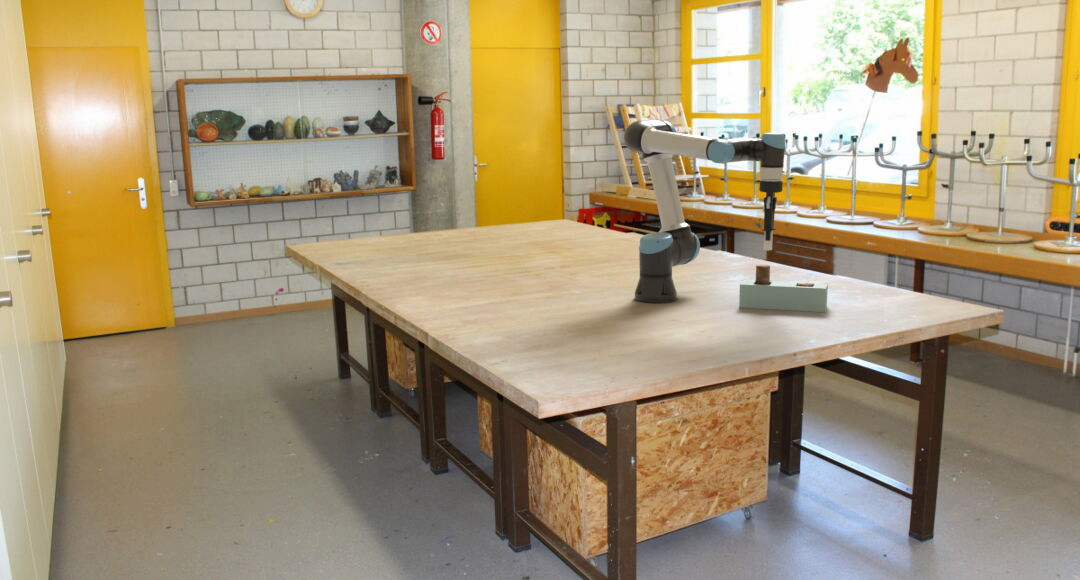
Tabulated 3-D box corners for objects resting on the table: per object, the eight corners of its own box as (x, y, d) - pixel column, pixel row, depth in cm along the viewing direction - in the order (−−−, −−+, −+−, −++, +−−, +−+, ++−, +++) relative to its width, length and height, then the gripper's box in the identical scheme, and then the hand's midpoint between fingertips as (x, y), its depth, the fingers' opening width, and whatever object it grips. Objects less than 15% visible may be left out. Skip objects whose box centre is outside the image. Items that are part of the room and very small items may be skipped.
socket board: (739, 307, 306) (739, 284, 304) (743, 301, 314) (743, 279, 312) (824, 312, 296) (825, 288, 294) (826, 306, 304) (827, 283, 302)
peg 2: (796, 308, 301) (797, 285, 299) (797, 305, 305) (798, 282, 303) (810, 309, 299) (811, 285, 298) (811, 306, 303) (812, 283, 302)
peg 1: (754, 289, 305) (755, 266, 303) (756, 287, 309) (757, 264, 307) (768, 290, 303) (769, 267, 301) (770, 287, 307) (770, 264, 306)
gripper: (780, 182, 291) (776, 253, 296) (784, 178, 303) (781, 247, 308) (757, 181, 293) (753, 252, 298) (762, 177, 305) (758, 245, 310)
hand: (767, 249), depth 303 cm, fingers closed
